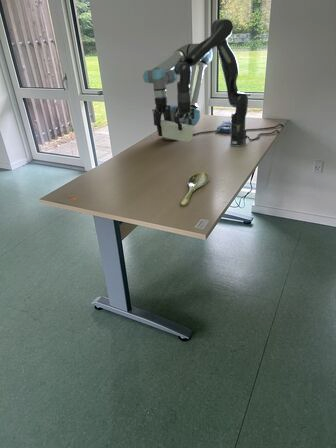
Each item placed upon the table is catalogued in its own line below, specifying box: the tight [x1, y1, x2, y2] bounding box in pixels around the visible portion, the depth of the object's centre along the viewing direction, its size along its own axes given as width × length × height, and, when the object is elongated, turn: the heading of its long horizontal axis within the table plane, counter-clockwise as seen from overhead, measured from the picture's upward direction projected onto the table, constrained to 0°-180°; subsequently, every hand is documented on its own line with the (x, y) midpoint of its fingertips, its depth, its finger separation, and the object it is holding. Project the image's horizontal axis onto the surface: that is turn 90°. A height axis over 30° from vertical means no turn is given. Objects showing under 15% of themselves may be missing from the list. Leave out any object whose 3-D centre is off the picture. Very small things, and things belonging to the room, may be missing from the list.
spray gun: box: [216, 120, 231, 134], centre depth 254 cm, size 21×4×15 cm
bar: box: [156, 119, 194, 143], centre depth 208 cm, size 26×5×9 cm, turn 44°
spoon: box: [180, 171, 210, 207], centre depth 170 cm, size 35×11×2 cm, turn 159°
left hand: (163, 134), depth 216 cm, fingers closed on bar, 5 cm apart
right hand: (185, 128), depth 200 cm, fingers open, 8 cm apart
